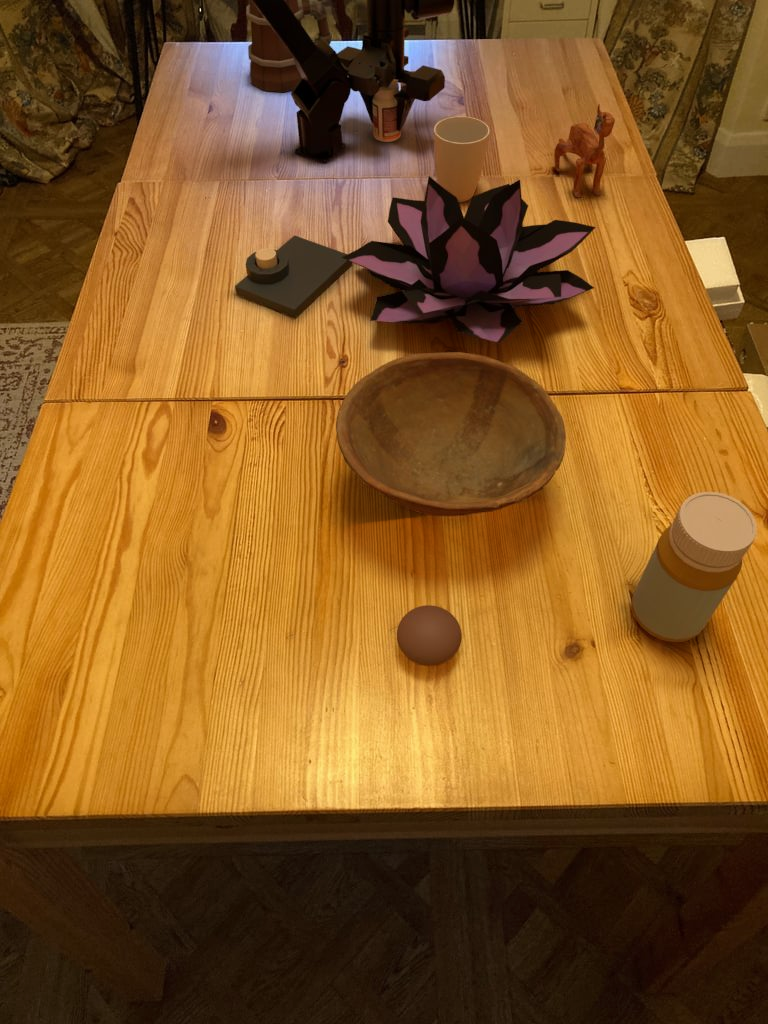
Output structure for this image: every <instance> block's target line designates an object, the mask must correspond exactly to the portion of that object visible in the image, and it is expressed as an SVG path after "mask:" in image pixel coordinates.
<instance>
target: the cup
mask: <svg viewBox="0 0 768 1024" xmlns="http://www.w3.org/2000/svg"><path fill="white" fill-rule="evenodd" d="M489 135H490V127H489V125H487V123H486V122H485V121H483V120H482V119H478V118H475V117H471V116H463V115H462V116H459V115H457V116H450V117H446V118H442V120H441V119H440V120H439V121H437V122H436V124H435V125H434V128H433V148H434V151H433V152H434V155H433V156H434V157H433V158H434V164H435V165H434V166H435V173H436V181H437V183H438V184H439V185H441V186H442V187H443V188H444V189H446V190H447V191H448V192H450V193H451V194H453V195H454V196H455V197H457V200H458V202H459V203H463V202H467V201H469V200H471V198H472V197H474V194H475V192H476V189H477V188H478V185H479V182H480V179H481V176H482V172H483V168H484V164H485V161H486V155H487V149H488V142H489V138H490V137H489Z"/></svg>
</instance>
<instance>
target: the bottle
mask: <svg viewBox="0 0 768 1024" xmlns="http://www.w3.org/2000/svg"><path fill="white" fill-rule="evenodd" d="M677 510H678V511H677V512H676V515H675V517H674V518H673V521H672V524H670V525H669V526H668V527H667V528H665V529H664V530H663V531H662V533H661V535H660V537H659V539H658V540H657V543H656V545H655V547H654V548H653V551H652V553H651V556H650V557H649V560H648V562H647V564H646V566H645V568H644V570H643V572H642V574H641V576H640V579H639V580H638V582H637V585H636V587H635V589H634V592H633V594H632V597H631V603H630V604H631V606H630V607H631V611H632V615H633V618H634V619H635V621H636V622H637V623H638V625H639V627H641V628H642V629H643V631H645V632H646V633H647V634H649V635H651V636H652V637H655V638H656V639H659V640H661V641H664V642H668V643H669V642H670V643H682V642H683V643H684V642H687V641H689V640H693V639H694V638H696V637H697V636H698V635H699V634H700V633H702V631H703V629H704V628H705V627H706V626H707V624H708V623H709V621H710V619H711V618H712V616H713V615H714V613H715V612H716V610H717V608H718V607H719V605H720V604H721V602H722V601H723V600H724V598H725V596H726V595H727V594H728V592H729V591H730V589H731V588H732V586H733V585H734V583H735V581H736V580H737V578H738V576H739V574H740V573H741V569H742V567H743V558H744V557H745V555H746V554H747V552H748V551H749V550H750V548H751V546H752V545H753V543H754V542H755V540H756V537H757V531H758V527H757V526H758V525H757V521H756V519H755V516H754V514H753V513H752V512H751V510H750V509H749V508H748V507H747V506H746V505H745V504H743V502H741V501H740V500H738V499H737V498H734V497H733V496H731V495H728V494H724V493H721V492H718V491H717V492H716V491H702V492H697V493H694V494H692V495H690V496H689V497H687V498H686V499H685V500H684V501H683V502H682V503H681V504H680V506H679V508H678V509H677Z"/></svg>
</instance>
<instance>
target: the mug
mask: <svg viewBox="0 0 768 1024" xmlns="http://www.w3.org/2000/svg"><path fill="white" fill-rule="evenodd" d="M284 1H285V2H286V4H287V5H288V6H289V8H290V9H291V11H292V12H293V14H294V15H295V16H296V18H297V19H298V21H299V22H300V24H301V25H302V20H303V19H305V18H306V17H305V16H308V15H309V16H310V17H312V16H313V18H314V20H315V21H316V23H317V28H318V33H317V37H315V38H314V40H312V41H313V42H314V43H315V44H317V43H318V41H319V40H320V39H321V38H323V39H324V40H325V41H326V42H327V43H328V44H329V45H330V46H331V44H332V38H333V32H331V31H330V27H329V23H328V18H327V16H328V15H329V14H328V10H327V9H326V7H325V5H324V4H322V2H321V1H319V0H305V1H302V0H284ZM245 15H246V19H247V20H248V21H250V28H251V29H250V30H251V32H250V34H251V44H249V45H248V46H247V47H248V48H247V51H248V52H247V53H248V60H249V61H250V63H249V75H250V83H251V85H253V86H255V87H257V88H259V89H260V90H262V91H265V92H266V91H267V92H277V93H285V92H292V91H293V89H294V88H295V86H296V85H297V83H298V82H299V81H300V79H301V78H302V77H301V75H300V73H299V71H298V69H297V67H296V65H295V62H294V59H293V57H292V55H291V53H290V52H289V50H288V49H287V48H286V46H285V45H284V44H283V42H282V41H281V40H280V38H279V37H278V36H277V34H276V33H275V32H274V30H273V29H272V27H271V26H270V25H269V23H268V22H267V21H266V19H265V18H264V17H263V15H262V14H261V13H260V11H259V10H258V9H257V7H256V6H255V5H254V3H253V2H252V1H251V0H249V4H248V5H246V7H245Z"/></svg>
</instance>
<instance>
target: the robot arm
mask: <svg viewBox="0 0 768 1024" xmlns="http://www.w3.org/2000/svg"><path fill="white" fill-rule="evenodd" d="M251 1H252V2H253V3H254V5H255V6H256V7H257V9H258V10H259V11H260V13H261V14H262V15H263V17H264V18H265V19H266V21H267V22H268V23H269V25H270V26H271V27H272V29H273V30H274V32H275V33H276V34H277V36H278V37H279V38H280V40H281V41H282V42H283V44H284V45H285V46H286V48H287V49H288V50H289V52H290V53H291V55H292V57H293V59H294V62H295V65H296V67H297V69H298V71H299V73H300V75H301V77H302V78H301V79H300V81H299V82H298V83H297V85H296V86H295V88H294V89H293V90H291V91H290V96H291V98H292V100H293V102H294V104H295V106H296V107H298V109H299V110H297V111H296V123H297V124H296V125H297V133H298V143H299V146H297V147H296V148H295V149H294V150H293V152H294V155H298V156H300V157H303V158H306V159H310V160H312V161H316V162H320V163H322V164H326V163H328V162H330V161H331V160H332V159H333V158H334V157H336V156H337V155H338V154H340V153H342V151H343V150H345V149H346V148H347V144H346V143H345V142H343V130H342V124H340V122H341V119H342V115H343V113H344V108H345V104H346V103H347V102H348V100H349V97H350V95H351V91H353V92H355V93H357V92H359V94H360V97H361V98H362V101H363V104H364V106H365V109H366V112H367V114H368V117H369V121H370V123H371V124H372V125H373V103H372V100H373V97H374V96H375V94H376V93H377V92H378V91H379V88H380V87H385V88H388V87H389V85H390V84H391V82H392V81H394V82H397V83H398V84H400V89H399V91H398V92H397V93H396V94H395V95H394V98H395V99H396V101H397V131H401V132H402V130H403V129H404V126H405V123H406V121H407V119H408V117H409V114H410V111H411V109H412V107H413V104H414V103H415V100H417V101H421V102H429V101H431V100H432V99H433V98H435V96H437V95H438V94H439V93H441V92H442V91H443V90H444V89H445V87H446V76H445V74H444V72H443V70H442V69H440V68H435V67H432V66H428V65H422V66H420V67H419V68H417V69H416V70H407V69H405V67H406V66H407V65H409V56H407V55H405V40H406V38H407V37H408V36H410V28H409V27H405V25H406V14H409V15H410V17H411V18H412V19H413V20H415V21H418V20H424V19H429V18H434V17H439V16H445V15H449V14H451V13H452V12H453V9H454V8H455V7H454V6H455V0H366V13H367V14H366V15H367V16H366V17H367V18H366V19H367V32H365V33H364V34H363V35H362V44H361V45H362V47H361V48H356V47H353V46H349V45H348V46H345V47H344V48H343V49H341V50H340V51H338V52H337V51H336V50H335V49H334V48H333V47H332V46H331V44H330V45H329V44H328V43H327V42H326V41H325V40H324V39H323V38H321V39H320V40H319V41H318V43H317V44H315V43H314V42H313V41H314V40H313V39H312V38H311V36H310V35H309V33H308V32H307V31H306V29H305V27H304V26H303V24H302V23H301V24H300V22H299V21H298V19H297V18H296V16H295V15H294V14H293V12H292V11H291V9H290V8H289V6H288V5H287V4H286V2H285V1H284V0H251Z"/></svg>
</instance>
